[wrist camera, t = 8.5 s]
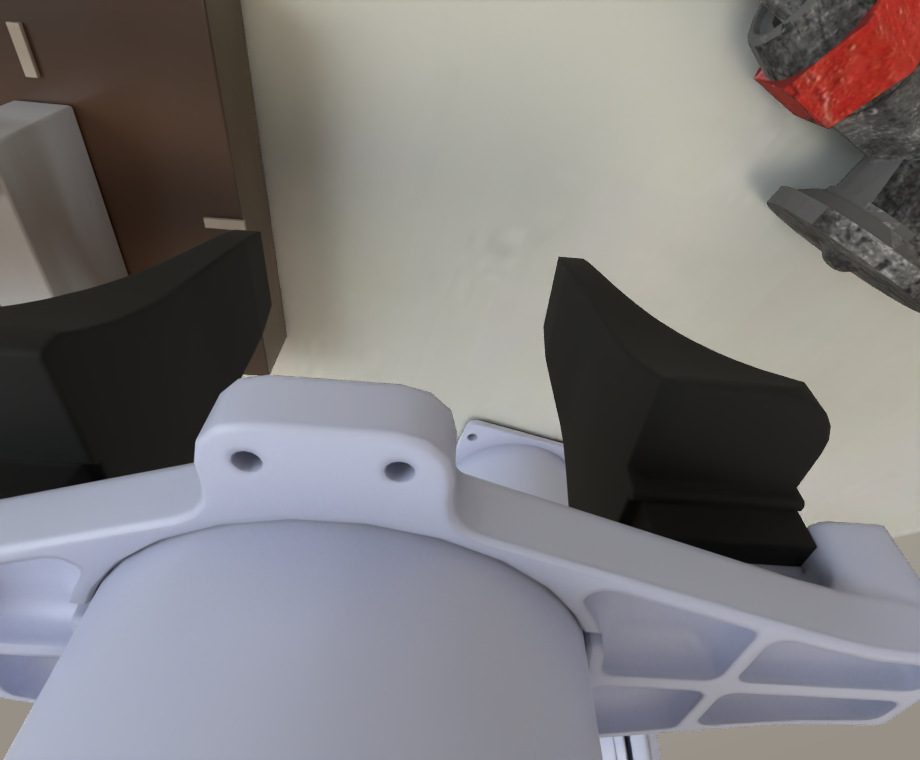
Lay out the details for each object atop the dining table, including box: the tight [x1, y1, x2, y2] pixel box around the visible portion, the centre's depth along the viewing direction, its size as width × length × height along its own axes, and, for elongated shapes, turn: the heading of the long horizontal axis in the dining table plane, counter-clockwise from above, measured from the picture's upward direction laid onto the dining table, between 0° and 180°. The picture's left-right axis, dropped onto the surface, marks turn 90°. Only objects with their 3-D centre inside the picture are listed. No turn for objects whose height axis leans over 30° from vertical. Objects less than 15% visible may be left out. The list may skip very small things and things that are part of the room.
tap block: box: [0, 0, 287, 376], centre depth 21 cm, size 14×11×3 cm
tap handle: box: [0, 100, 128, 307], centre depth 18 cm, size 7×2×4 cm, turn 175°
